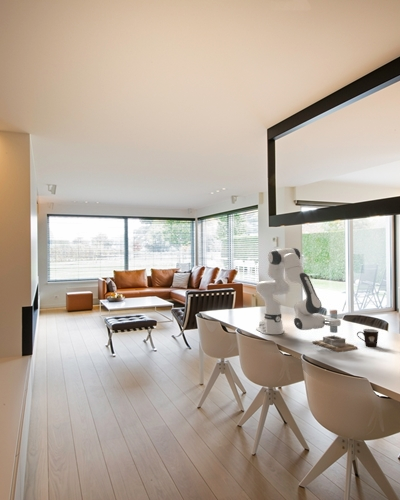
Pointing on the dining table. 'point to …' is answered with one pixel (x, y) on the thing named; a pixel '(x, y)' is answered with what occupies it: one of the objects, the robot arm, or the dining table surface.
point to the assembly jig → (335, 343)
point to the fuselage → (334, 315)
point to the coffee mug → (370, 337)
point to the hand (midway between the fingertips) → (334, 319)
